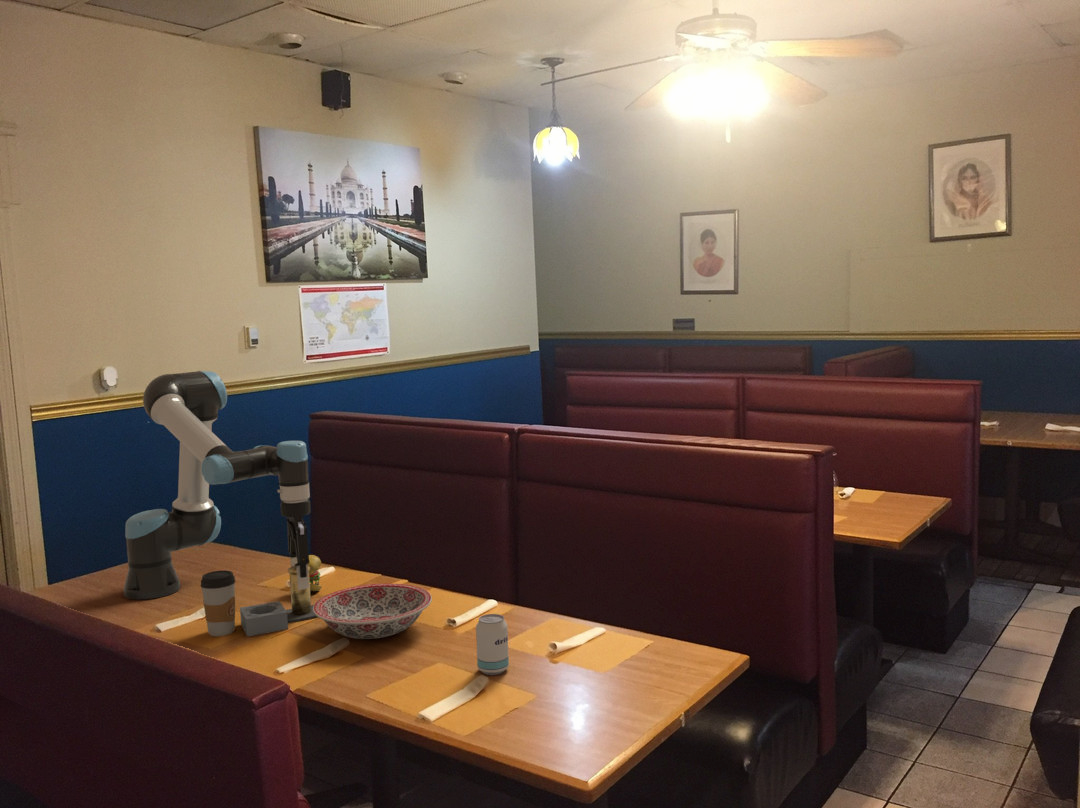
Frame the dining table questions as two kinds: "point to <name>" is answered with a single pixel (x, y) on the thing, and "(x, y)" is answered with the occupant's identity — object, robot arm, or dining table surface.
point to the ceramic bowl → (372, 609)
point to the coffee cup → (219, 602)
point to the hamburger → (314, 572)
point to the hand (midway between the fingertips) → (300, 584)
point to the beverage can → (492, 644)
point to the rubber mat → (300, 616)
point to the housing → (263, 618)
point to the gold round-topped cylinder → (299, 594)
